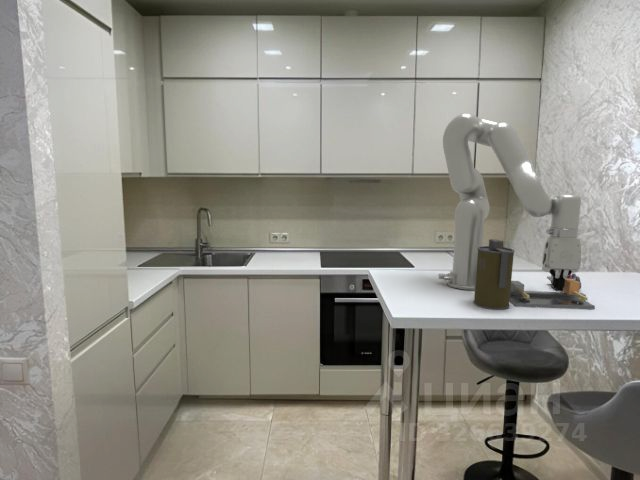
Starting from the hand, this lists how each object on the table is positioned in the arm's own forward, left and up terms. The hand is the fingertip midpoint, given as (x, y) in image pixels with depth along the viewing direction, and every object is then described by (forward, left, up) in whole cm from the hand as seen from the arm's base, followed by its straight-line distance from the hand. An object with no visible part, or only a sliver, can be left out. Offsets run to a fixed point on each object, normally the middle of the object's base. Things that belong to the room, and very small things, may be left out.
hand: (557, 289), depth 138 cm
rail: (-4, 0, -3) cm, 5 cm away
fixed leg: (-13, -3, -2) cm, 14 cm away
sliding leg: (+4, -3, -2) cm, 5 cm away
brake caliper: (+9, +14, -4) cm, 17 cm away
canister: (-24, -9, -3) cm, 26 cm away
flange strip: (-5, -7, -3) cm, 9 cm away
